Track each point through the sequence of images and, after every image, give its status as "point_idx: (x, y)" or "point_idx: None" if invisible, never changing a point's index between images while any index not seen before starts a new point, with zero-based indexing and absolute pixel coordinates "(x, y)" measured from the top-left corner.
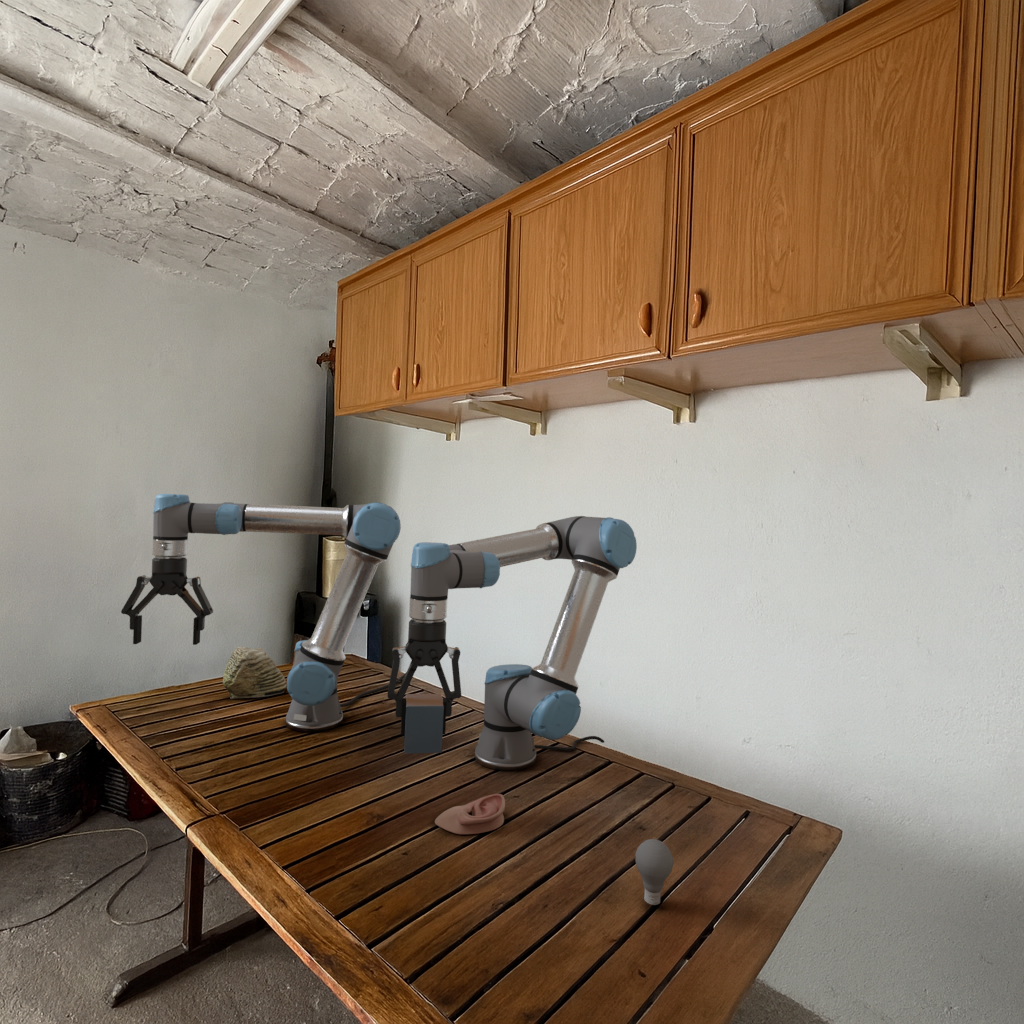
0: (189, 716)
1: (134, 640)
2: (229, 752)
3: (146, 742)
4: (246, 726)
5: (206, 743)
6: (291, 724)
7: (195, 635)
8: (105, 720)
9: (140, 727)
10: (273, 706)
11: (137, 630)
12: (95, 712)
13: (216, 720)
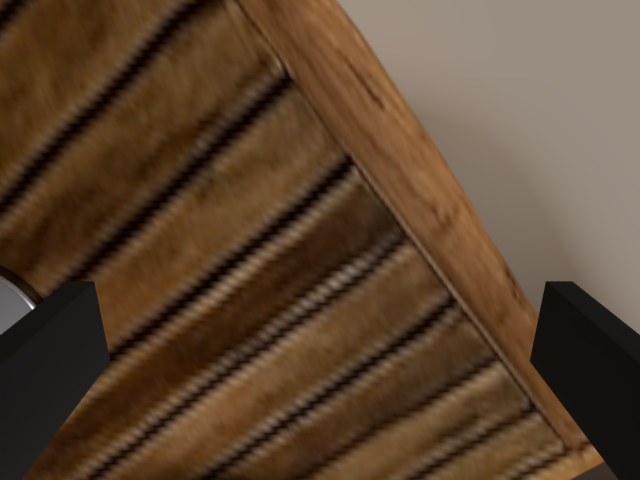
0: (333, 375)
1: (579, 296)
2: (120, 116)
3: (378, 199)
4: (155, 305)
5: (212, 187)
6: (8, 282)
7: (23, 324)
8: None
9: (431, 305)
10: (144, 437)
11: (617, 363)
12: None
13: (252, 347)
